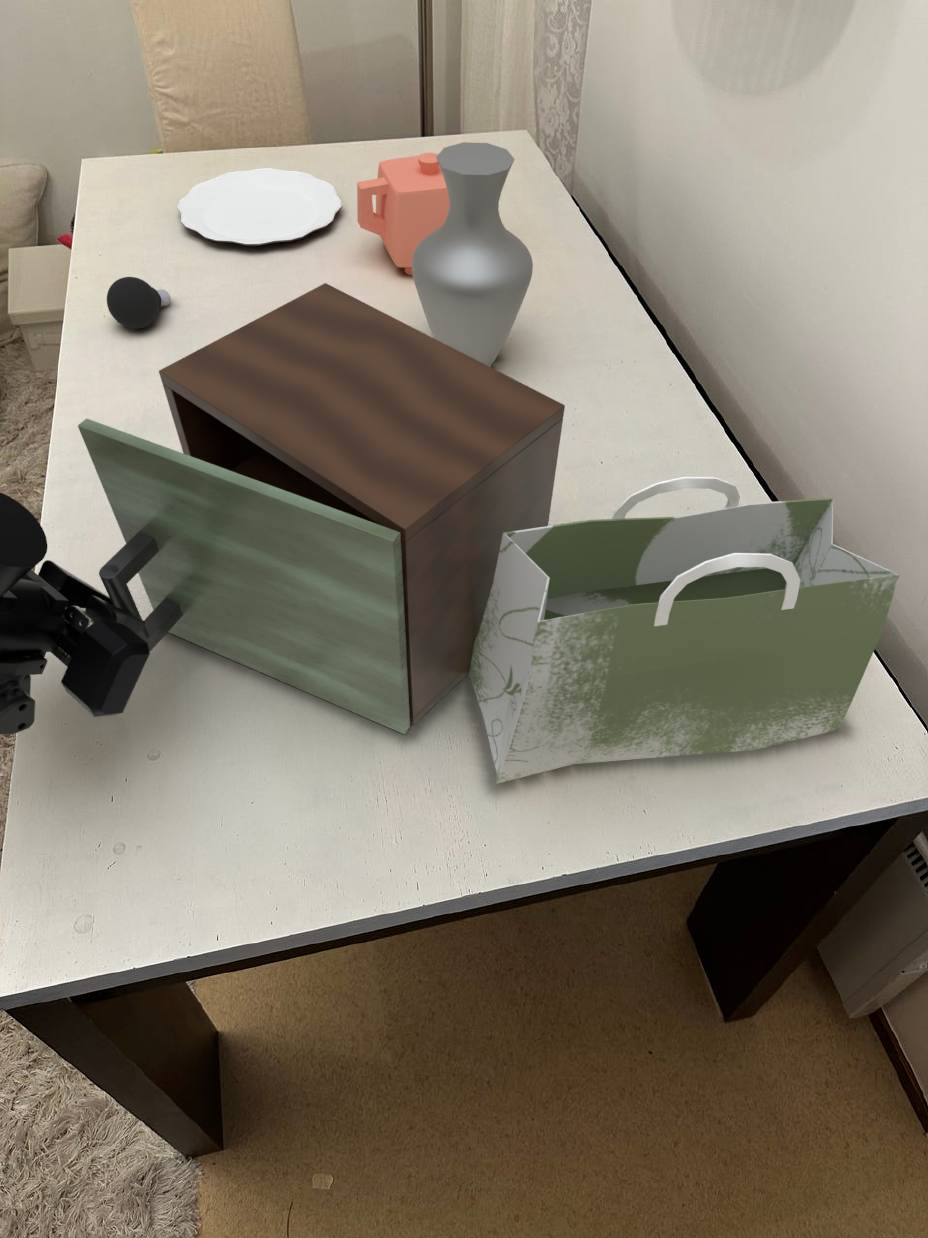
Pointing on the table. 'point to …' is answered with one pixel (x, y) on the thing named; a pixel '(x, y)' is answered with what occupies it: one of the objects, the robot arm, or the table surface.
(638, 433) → the table surface
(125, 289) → the light bulb
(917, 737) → the table surface
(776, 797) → the table surface
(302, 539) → the green cabinet door
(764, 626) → the grocery bag
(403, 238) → the teapot
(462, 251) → the vase
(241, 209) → the plate
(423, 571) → the wooden cabinet
